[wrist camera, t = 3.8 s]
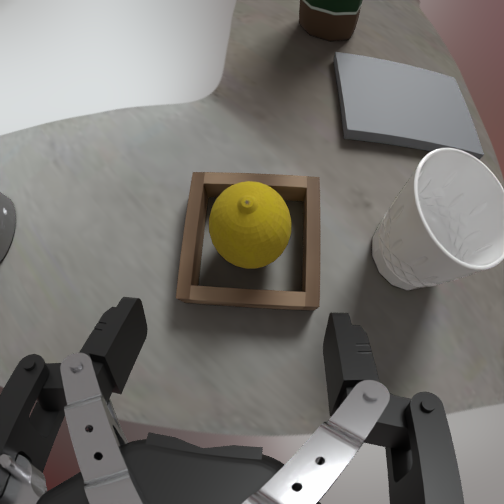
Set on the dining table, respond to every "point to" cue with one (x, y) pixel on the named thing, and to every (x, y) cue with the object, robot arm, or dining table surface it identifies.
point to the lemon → (250, 224)
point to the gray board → (402, 105)
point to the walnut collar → (305, 300)
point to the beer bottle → (329, 18)
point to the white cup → (442, 223)
